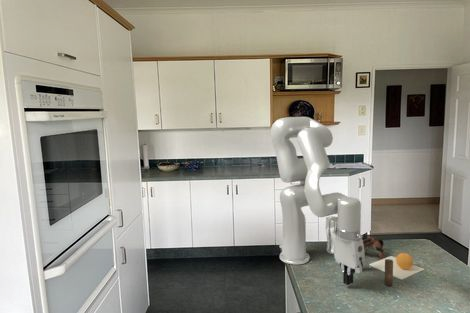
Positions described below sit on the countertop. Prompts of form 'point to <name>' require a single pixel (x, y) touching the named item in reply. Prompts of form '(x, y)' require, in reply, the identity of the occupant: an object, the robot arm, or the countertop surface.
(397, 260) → the ball
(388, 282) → the post right
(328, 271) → the countertop surface
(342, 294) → the countertop surface
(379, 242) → the reddish brown arched figurine
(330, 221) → the beer glass
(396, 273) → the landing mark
